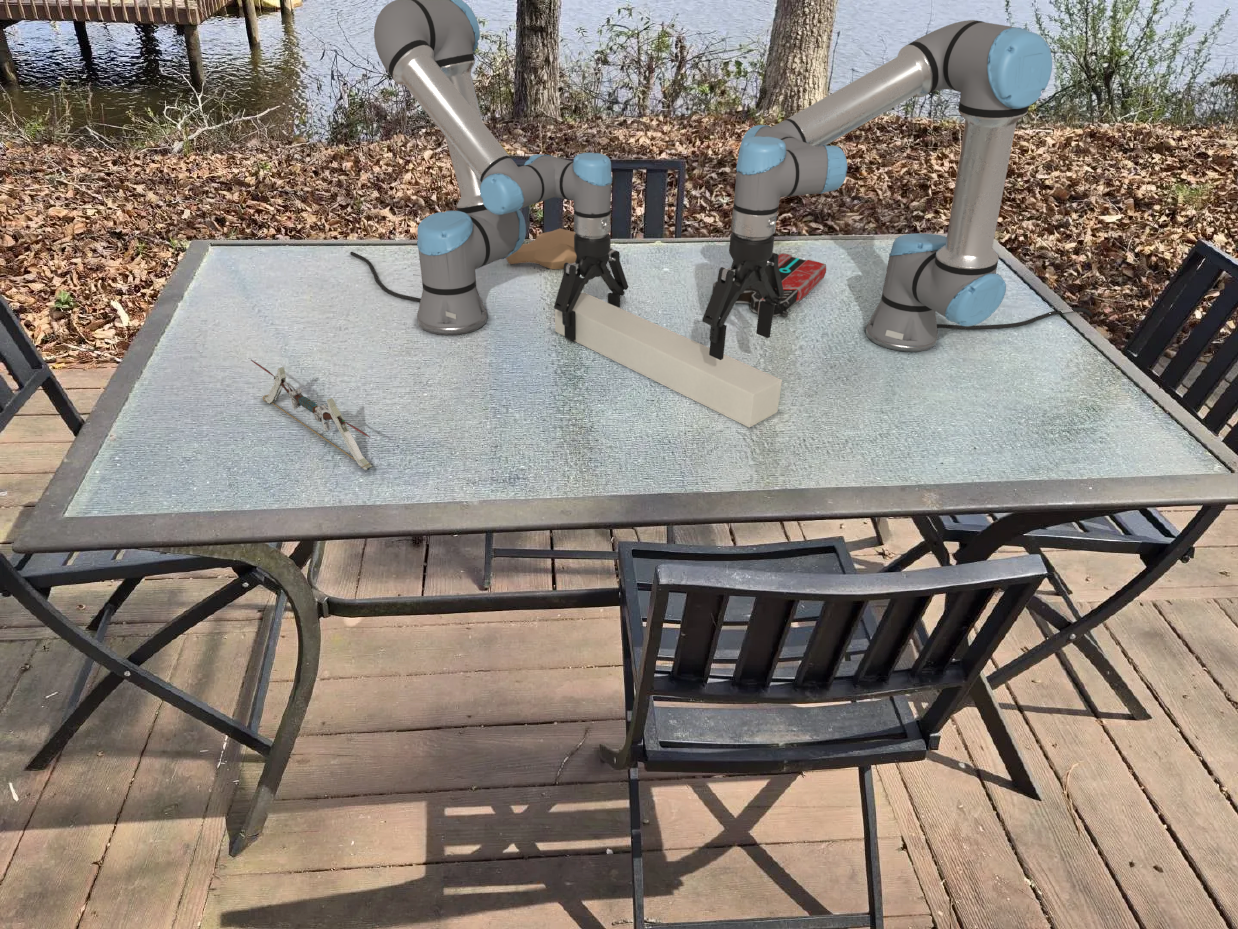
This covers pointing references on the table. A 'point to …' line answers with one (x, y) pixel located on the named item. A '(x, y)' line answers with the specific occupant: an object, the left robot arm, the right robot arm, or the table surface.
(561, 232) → the squash
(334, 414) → the bow
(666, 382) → the wide beam
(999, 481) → the table surface
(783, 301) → the gun
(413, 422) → the table surface
